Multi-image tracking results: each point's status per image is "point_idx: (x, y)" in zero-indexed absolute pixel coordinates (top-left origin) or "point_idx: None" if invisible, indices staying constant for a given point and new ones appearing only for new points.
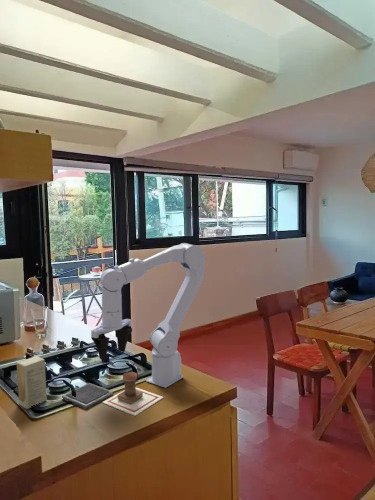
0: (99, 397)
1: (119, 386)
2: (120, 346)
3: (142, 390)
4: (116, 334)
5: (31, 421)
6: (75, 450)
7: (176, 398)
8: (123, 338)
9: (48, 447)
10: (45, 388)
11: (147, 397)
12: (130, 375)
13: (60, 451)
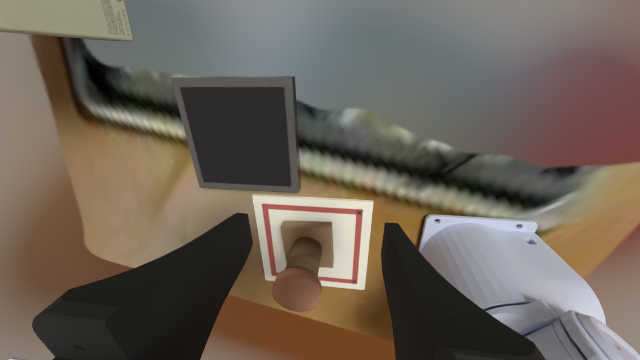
0: (250, 184)
1: (355, 166)
2: (387, 257)
3: (365, 239)
4: (414, 296)
5: (75, 114)
6: (130, 258)
7: (378, 307)
8: (397, 335)
9: (92, 220)
10: (86, 36)
11: (340, 265)
12: (293, 298)
13: (108, 242)
